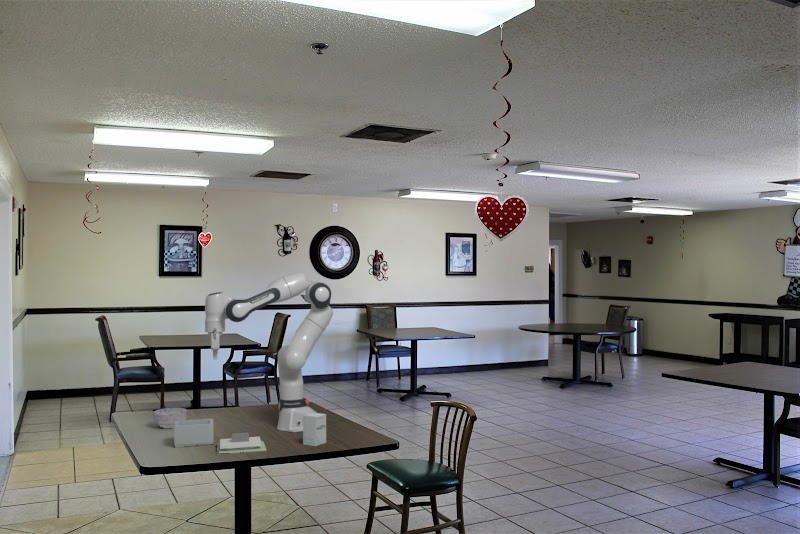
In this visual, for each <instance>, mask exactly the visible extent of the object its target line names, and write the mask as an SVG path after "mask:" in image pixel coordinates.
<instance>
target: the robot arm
mask: <svg viewBox="0 0 800 534" xmlns="http://www.w3.org/2000/svg"><path fill="white" fill-rule="evenodd" d="M297 296H301V298H302V299H303V300H304V301H305V302H306V303H308V304H310V306H311V307H310V310H309V312H308V313H307V315H306V316H305V318H304V319H303V321H302V322H301V323H300V325H299V326H298V327H297V329H296V330H295V333H294V335H293V337H292V339H291V341H290V343H289V344H287V345H286V344H285V345H283V346H282V347H281V348H280V349H279V351H278V352H277V366H278V370H277V371H278V378H279V379H278V380H279V399H278V410H279V411H278V412H279V414H278V416H279V417H278V422H277V426H276V430H278V431H282V432H290V433H298V432H303V415H307V414H311V413H318V412H317V411H316V410H314V409H313V408H312V407H310V406H309V404H310V399H308V398H305V397H304V379H303V372H302V368H304V366H305V364H306V362H307V361H308V358H309V357H310V355H311V353H312V350H313V348H314V347H315V345H316V343H317V342H318V341H319V339H320V338H321V336H322V335H323V333H324V332H325V331H326V329H327V327H328V326H329V325H330V321H331V320H332V318H333V315H334V311H333V309H332V307H331V306H330V304H331V298H332V290H331V288H330V286H329V285H327V284H326V283H325V282H321V281H310V280H309V278H308V276H307V275H306V273H304V272H302V271H297V272H294V273H290V274H287V275H283V276H281V277H279V278H277V279H275V280H273V281H271V282H270V283H269V284H268V286H267V287H266V289H264V290H263V291H262V292H260V293H257V294H254V295H253V296H251V297H249V298H244V299H237V298H233V297H231V296H228V295H227V294H225V293H224V292H222V291H219V292H213V293H209V294H208V295H207V296H206V298H205V302H204V314H205V319H204V329H205V330H204V332H205V333H207V336H209V340H210V350H211V351H212V359H213V361H215V360H216V361H217V360H218V353H219V350H220V346H221V345H220V342H221V336H223V333H224V332H226V320H227V319H228V320H229V321H231V322H234V323H241V322H242V321H245V320H246V319H247V318H248V317H249V316H250V314H252V313H253V312H255V311H257V310H259V309H262V308H264V307H266V306H268V305H272V304H276V303H277V304H278V303H283V302H286V301H288V300H291V299H292V298H295V297H297Z"/></svg>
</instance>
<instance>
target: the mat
mask: <svg viewBox="0 0 800 534" xmlns="http://www.w3.org/2000/svg"><path fill="white" fill-rule="evenodd" d="M261 443H262V446H256V448H249V449H235V450H226V449H220V448H219V449H218V450H220V451H219V453H230V454H240V452H241V454H242V452H244V453H254V452H266V451H267V448H266V445H265V442H264V440H261ZM217 444H218V446H219V447H220V443H217Z"/></svg>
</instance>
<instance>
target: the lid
mask: <svg viewBox="0 0 800 534" xmlns="http://www.w3.org/2000/svg"><path fill="white" fill-rule="evenodd" d="M261 441H262V439H261V436H250V432H237V433H231V438H220V439H219V444H220V449H226V450H235V449H249V448H256V446H262V443H261Z"/></svg>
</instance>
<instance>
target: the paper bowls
mask: <svg viewBox="0 0 800 534" xmlns="http://www.w3.org/2000/svg"><path fill="white" fill-rule="evenodd" d="M187 413H188V411H187V409H186V408H183V407H167V408H166V407H165V408H160V409H157V410H155V411H153V422H154V423H155V424H157V425H158V424H159V425H165V426H170V425H175V422H176V421H182V420H187V419H188V418H187V417H188V414H187Z"/></svg>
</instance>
